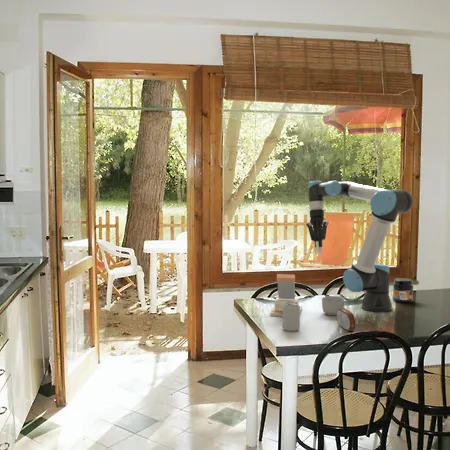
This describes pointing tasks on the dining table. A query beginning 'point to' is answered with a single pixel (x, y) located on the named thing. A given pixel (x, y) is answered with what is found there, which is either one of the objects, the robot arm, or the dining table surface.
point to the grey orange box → (286, 286)
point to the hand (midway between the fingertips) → (318, 253)
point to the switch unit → (281, 306)
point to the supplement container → (403, 290)
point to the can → (291, 316)
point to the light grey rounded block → (332, 304)
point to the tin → (346, 319)
